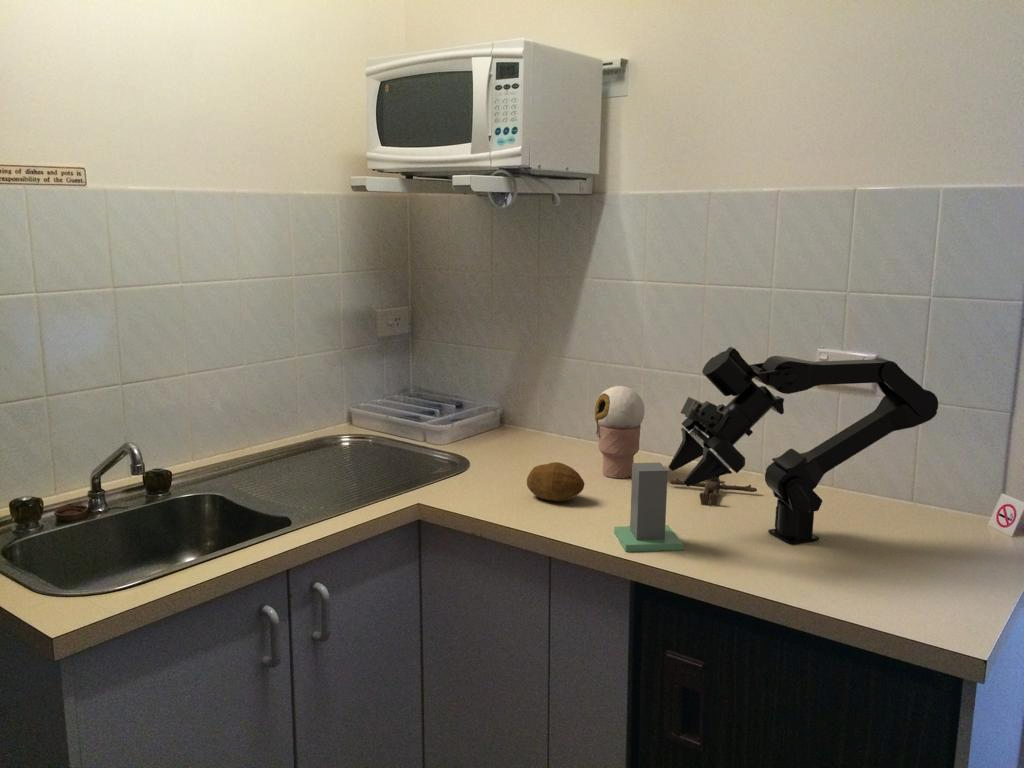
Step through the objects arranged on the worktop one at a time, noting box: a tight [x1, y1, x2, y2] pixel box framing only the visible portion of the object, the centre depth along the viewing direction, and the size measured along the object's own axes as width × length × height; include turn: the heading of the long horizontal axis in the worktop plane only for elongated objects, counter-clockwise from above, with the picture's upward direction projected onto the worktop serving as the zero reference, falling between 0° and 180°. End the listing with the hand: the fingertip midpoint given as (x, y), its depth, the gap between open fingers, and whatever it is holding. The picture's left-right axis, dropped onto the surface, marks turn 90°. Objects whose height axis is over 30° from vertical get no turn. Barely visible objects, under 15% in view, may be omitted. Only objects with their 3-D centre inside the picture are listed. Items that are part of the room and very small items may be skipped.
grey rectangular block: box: [629, 461, 669, 540], centre depth 153 cm, size 5×5×12 cm
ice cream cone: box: [594, 385, 646, 480], centre depth 192 cm, size 11×11×20 cm
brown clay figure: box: [668, 476, 758, 507], centre depth 180 cm, size 18×4×14 cm
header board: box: [613, 524, 683, 553], centre depth 154 cm, size 10×9×3 cm
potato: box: [526, 461, 585, 502], centre depth 176 cm, size 8×12×8 cm, turn 70°
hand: (677, 476), depth 152 cm, fingers open, 9 cm apart
